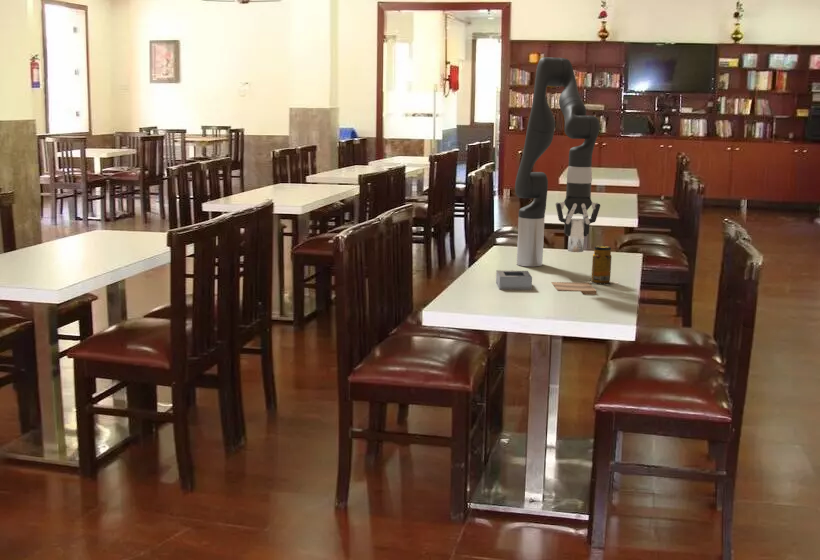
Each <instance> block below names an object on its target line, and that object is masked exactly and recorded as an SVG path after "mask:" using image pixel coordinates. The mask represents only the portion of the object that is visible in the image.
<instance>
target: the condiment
mask: <svg viewBox="0 0 820 560" xmlns="http://www.w3.org/2000/svg"><path fill="white" fill-rule="evenodd" d="M611 253H612V247H611V246H609V245H595V246H594V253H593V254H592V262H591V263H592V267H591V280H590V281H587V283H589V284H595V285H604V286H614V285H617V284H619V283H620V282H619V281H615V280H611V273H612V272H611V271H612V254H611Z"/></svg>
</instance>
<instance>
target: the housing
mask: <svg viewBox="0 0 820 560" xmlns="http://www.w3.org/2000/svg"><path fill="white" fill-rule="evenodd" d="M495 274H496V275H495V284H496V286H497V288H498V290H503V291H504V290H510V291H511V290H514V291H515V290H517V291H526V290H527V291H532V288H533V276H532V275H531V273H530V272H529V270H501V269H500V270H496V272H495Z"/></svg>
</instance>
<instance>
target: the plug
mask: <svg viewBox="0 0 820 560" xmlns="http://www.w3.org/2000/svg"><path fill="white" fill-rule="evenodd" d="M569 224H570V236H568V241H567V252H570V253H583V252H584V248H585V246H584V245H585V236H584V231H585V219H583V218H580V217H572V218H571V220H570V223H569Z"/></svg>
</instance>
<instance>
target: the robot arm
mask: <svg viewBox="0 0 820 560" xmlns="http://www.w3.org/2000/svg"><path fill="white" fill-rule="evenodd" d="M548 87H564V88H563V90H562V92H561V94H560V96H559V98H558V105H559V109H560V111H561V112H562V115H563V118H564V119H563V120H564V128H563V129H564V134H565V136H567V137H568V138H569V139H572V140H573V139H574V140H575V139H576V140H580V139H581V140H582V139H583V142H582V144H580V145H578V146H577V145H576V146H573V147H571V148H570V149H569V152H568V167H567V172H566V173H567V174H566V191H565V199H564V201H562V202H556V203H555V208H556V213H557V217H558V221H559V222H561V223H563V224H564V226H563V227H564V229H563V230H564V231H563V232H564V234H565V235H566V236H567V237H569V236H570V224H569V223H570V220H571V218H573V216H574V215H581V216H582V219H585V231H584V237H587V236H588V235H590V234H589V233H590V226H591V224H592V223H595V222H596V221H597V218H598V215H599V211H600V208H601V204H600V203H598V202H593V201H592V198H591V197H592V182H593V177H592V175H593V171H592V164H593V152H594V148H595V145H596V142H597V138H598V136H599V134H600V133H599V132H600V128H601V125H600V124H601V123H600V121H599V118H598V117H596V115H587V108H586V106H585V104H584V101H583V100H582V98H581V96H580V93H579V90H578V84H577V80H576V76H575V71H574V68H573V65H572V63H571V61H570V59H568V58H564V57H552V56H551V57H549V56H548V57H547V56H546V57H541V58H540V59H539V60H538V63H537V66H536V72H535V79H534V87H533V89H534V90H533V95H532V96H533V98H532V104H531V109H530V114H529V118H528V122H527V128H526V132H525V133H526V134H525V140H524V144H523V145H524V147H523V151H522V156H521V159H520V163H519V168H518V169H517V170H518V171H517V174H516V178H515V183H514V191H515V195H516V196H517V198H519V199H533V200H532V202H531V203H529V204H528V205H525V206H523V207H521V208H520V209H519V210H518V220H517V222H518V223H517V226H518V227H517V244H516V245H517V246H516V247H517V248H516V265H518V266H522V267H542V266H543V257H544V241H545V240H544V238H545V237H544V236H545V217H546V216H545V215H546V209H547V198H548V189H549V183H548V182H549V181H548V176H547V174H546V173H545V172H543V171H532V170H533V168H534V165H535V163H536V162H537V161H538V159H539V158H540V157H541V156H542V155H543V154H544V153H545V152H546V151H547V150H548V148H549V147H550V146H551V144H552V143H553V140H554V139H553V138H554V135H555V129H556V119H555V116H554V114H553V112H552V110H551V108H550V105H549V103H548V100H547V88H548ZM564 206H565V207H566V209H567V212H566V215H565V218H564V214H563V210H564ZM590 207H591V209H592V213H591V215H590V218H589V213H588V210H589V209H590Z"/></svg>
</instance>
